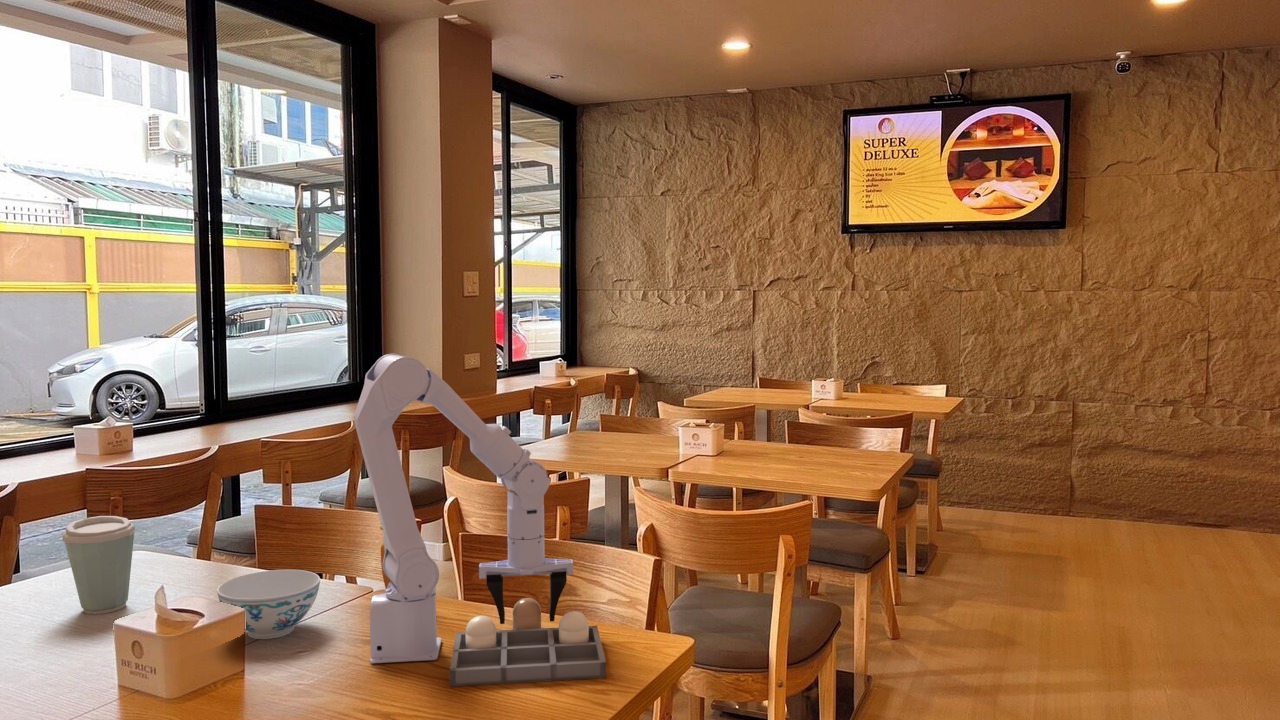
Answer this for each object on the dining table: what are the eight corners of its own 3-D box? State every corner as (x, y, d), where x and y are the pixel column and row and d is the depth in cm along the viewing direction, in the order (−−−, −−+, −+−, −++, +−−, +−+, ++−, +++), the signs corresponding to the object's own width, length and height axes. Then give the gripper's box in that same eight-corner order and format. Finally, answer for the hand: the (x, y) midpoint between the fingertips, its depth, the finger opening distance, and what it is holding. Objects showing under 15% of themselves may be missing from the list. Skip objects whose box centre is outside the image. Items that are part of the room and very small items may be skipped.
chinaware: (308, 609, 156) (307, 564, 156) (332, 636, 144) (331, 587, 143) (211, 626, 148) (209, 579, 148) (228, 657, 136) (226, 605, 135)
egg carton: (449, 686, 125) (449, 644, 125) (456, 646, 139) (455, 609, 139) (606, 677, 128) (606, 636, 127) (597, 639, 142) (596, 602, 142)
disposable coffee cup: (151, 605, 158) (148, 519, 157) (86, 624, 149) (82, 532, 148) (118, 595, 164) (114, 511, 163) (53, 612, 155) (48, 524, 154)
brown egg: (512, 638, 143) (512, 603, 142) (513, 628, 147) (512, 594, 147) (541, 636, 143) (541, 602, 143) (540, 626, 148) (540, 593, 147)
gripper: (477, 543, 139) (479, 632, 140) (574, 540, 141) (575, 627, 142) (479, 532, 146) (481, 616, 147) (571, 528, 148) (572, 611, 149)
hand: (527, 620), depth 145 cm, fingers open, 7 cm apart
